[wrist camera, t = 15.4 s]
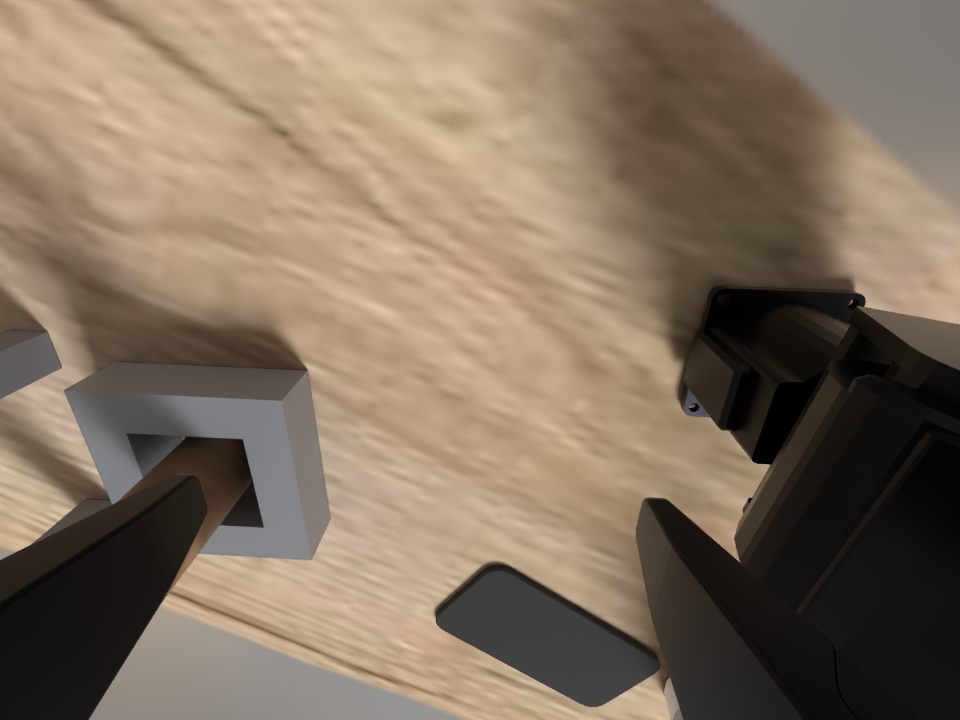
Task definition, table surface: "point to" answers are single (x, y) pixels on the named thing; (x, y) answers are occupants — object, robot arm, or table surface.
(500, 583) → the phone
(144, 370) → the socket
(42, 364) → the teal topped stool
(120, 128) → the table surface
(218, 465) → the peg
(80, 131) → the table surface
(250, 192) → the table surface
